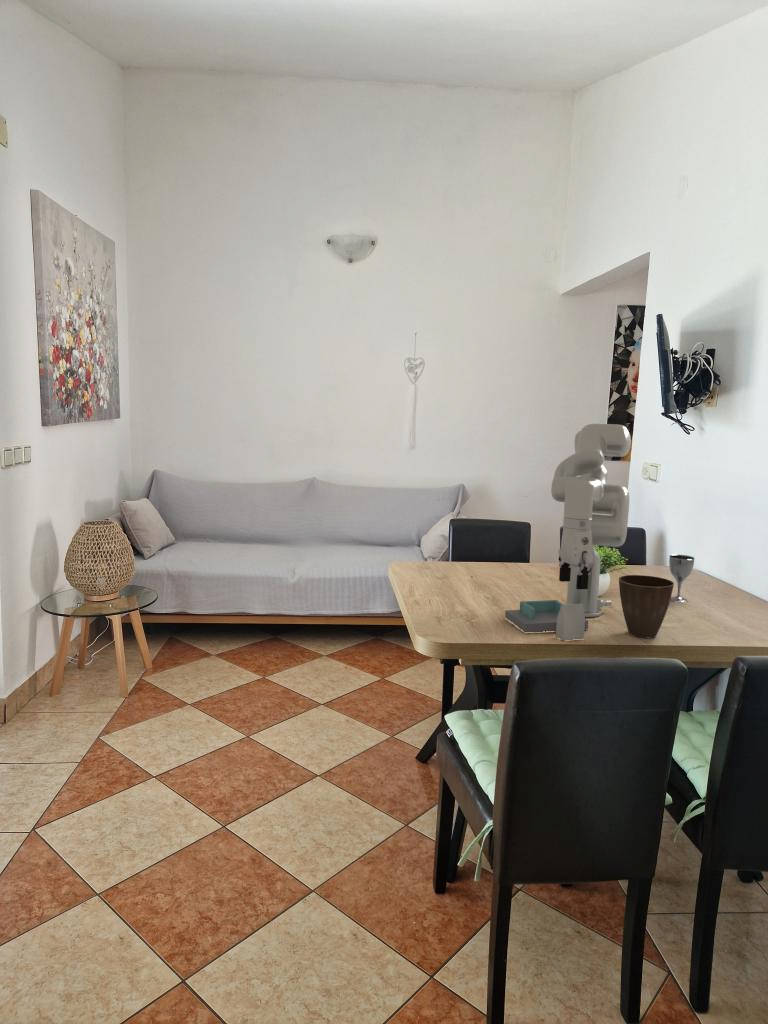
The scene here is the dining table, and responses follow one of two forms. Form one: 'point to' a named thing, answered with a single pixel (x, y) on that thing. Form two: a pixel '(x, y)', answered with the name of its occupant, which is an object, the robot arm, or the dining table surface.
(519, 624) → the dock
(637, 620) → the plant pot
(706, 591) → the dining table surface
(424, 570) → the dining table surface
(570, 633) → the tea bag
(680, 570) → the wine glass
